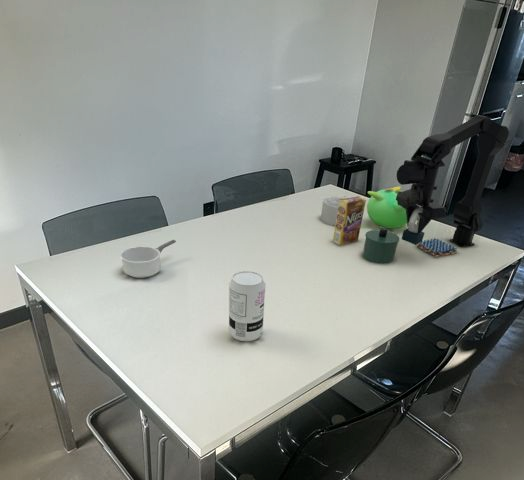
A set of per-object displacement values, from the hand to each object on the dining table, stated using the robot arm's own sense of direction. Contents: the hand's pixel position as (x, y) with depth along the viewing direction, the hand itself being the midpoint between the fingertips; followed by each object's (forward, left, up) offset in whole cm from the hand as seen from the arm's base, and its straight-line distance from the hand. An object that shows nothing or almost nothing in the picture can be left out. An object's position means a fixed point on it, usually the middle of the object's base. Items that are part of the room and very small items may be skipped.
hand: (413, 229), depth 153 cm
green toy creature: (-8, -25, -9) cm, 28 cm away
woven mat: (-12, 0, -9) cm, 15 cm away
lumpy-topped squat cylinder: (+9, -35, -9) cm, 37 cm away
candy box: (+16, -15, -9) cm, 24 cm away
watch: (0, 0, -4) cm, 4 cm away
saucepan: (+85, -12, -9) cm, 86 cm away
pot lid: (+12, 0, -2) cm, 12 cm away
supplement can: (+70, +31, -9) cm, 77 cm away
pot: (+12, 0, -9) cm, 15 cm away
